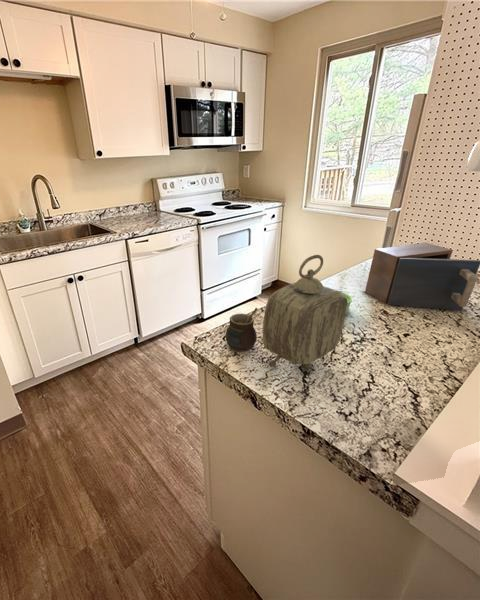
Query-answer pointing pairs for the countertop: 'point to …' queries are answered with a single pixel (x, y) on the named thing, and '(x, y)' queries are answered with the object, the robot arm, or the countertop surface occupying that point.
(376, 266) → the cupboard
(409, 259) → the cupboard door
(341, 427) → the countertop surface
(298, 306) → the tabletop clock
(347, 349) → the countertop surface
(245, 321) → the mate gourd
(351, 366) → the countertop surface
